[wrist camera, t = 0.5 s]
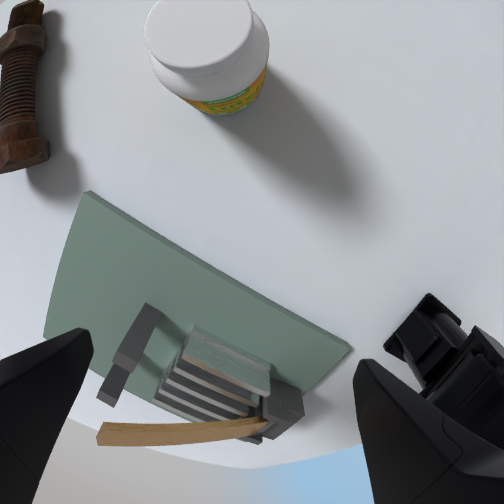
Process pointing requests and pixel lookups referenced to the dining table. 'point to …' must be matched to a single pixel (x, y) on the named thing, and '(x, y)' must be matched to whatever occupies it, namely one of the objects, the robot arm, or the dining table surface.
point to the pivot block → (277, 410)
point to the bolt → (21, 88)
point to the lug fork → (129, 354)
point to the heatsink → (212, 379)
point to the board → (171, 303)
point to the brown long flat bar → (179, 432)
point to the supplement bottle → (208, 52)
